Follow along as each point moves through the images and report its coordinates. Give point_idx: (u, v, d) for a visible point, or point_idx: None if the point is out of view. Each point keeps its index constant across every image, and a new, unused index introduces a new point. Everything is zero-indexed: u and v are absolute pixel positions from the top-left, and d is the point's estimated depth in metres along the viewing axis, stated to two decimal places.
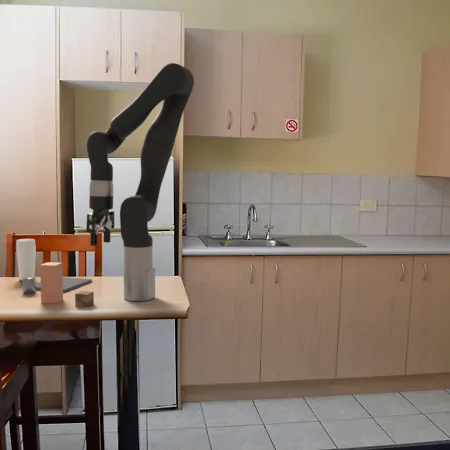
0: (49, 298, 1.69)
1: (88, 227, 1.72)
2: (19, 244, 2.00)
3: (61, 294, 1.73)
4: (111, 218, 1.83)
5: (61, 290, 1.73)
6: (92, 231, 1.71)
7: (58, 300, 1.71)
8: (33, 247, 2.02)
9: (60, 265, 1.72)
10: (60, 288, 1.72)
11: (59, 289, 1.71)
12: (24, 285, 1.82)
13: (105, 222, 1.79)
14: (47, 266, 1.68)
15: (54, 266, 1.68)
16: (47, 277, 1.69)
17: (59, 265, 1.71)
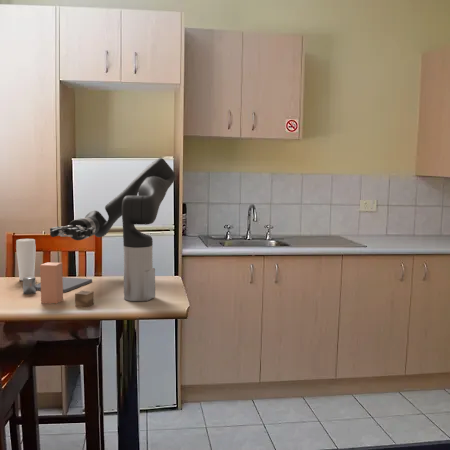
0: (49, 298, 1.69)
1: None
2: (19, 244, 2.00)
3: (61, 294, 1.73)
4: (57, 233, 1.89)
5: (61, 290, 1.73)
6: (90, 235, 1.85)
7: (58, 300, 1.71)
8: (33, 247, 2.02)
9: (60, 265, 1.72)
10: (60, 288, 1.72)
11: (59, 289, 1.71)
12: (24, 285, 1.82)
13: (69, 234, 1.88)
14: (47, 266, 1.68)
15: (54, 266, 1.68)
16: (47, 277, 1.69)
17: (59, 265, 1.71)
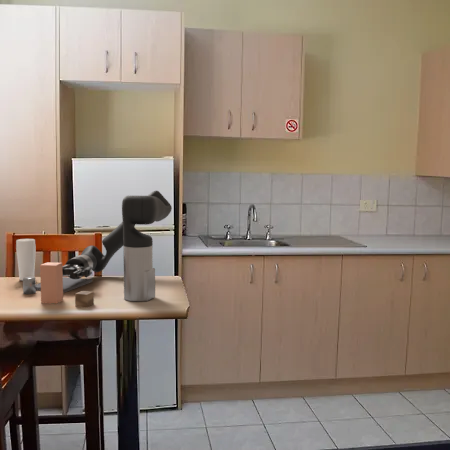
0: (49, 298, 1.69)
1: None
2: (19, 244, 2.00)
3: (61, 294, 1.73)
4: None
5: (61, 290, 1.73)
6: (87, 275, 1.83)
7: (58, 300, 1.71)
8: (33, 247, 2.02)
9: (60, 265, 1.72)
10: (60, 288, 1.72)
11: (59, 289, 1.71)
12: (24, 285, 1.82)
13: (66, 274, 1.86)
14: (47, 266, 1.68)
15: (54, 266, 1.68)
16: (47, 277, 1.69)
17: (59, 265, 1.71)
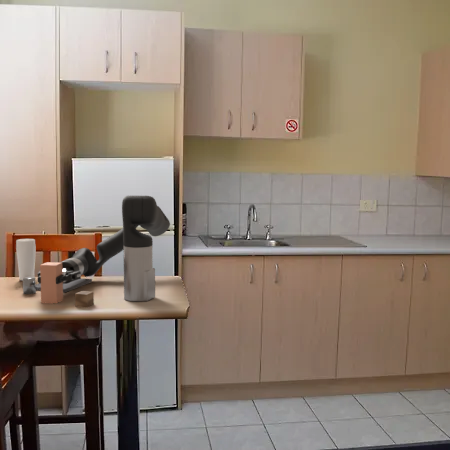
0: (49, 298, 1.69)
1: (72, 274, 1.74)
2: (19, 244, 2.00)
3: (61, 294, 1.73)
4: None
5: (61, 290, 1.73)
6: (71, 280, 1.73)
7: (58, 300, 1.71)
8: (33, 247, 2.02)
9: (60, 265, 1.72)
10: (60, 288, 1.72)
11: (59, 289, 1.71)
12: (24, 285, 1.82)
13: None
14: (47, 266, 1.68)
15: (54, 266, 1.68)
16: (47, 277, 1.69)
17: (59, 265, 1.71)
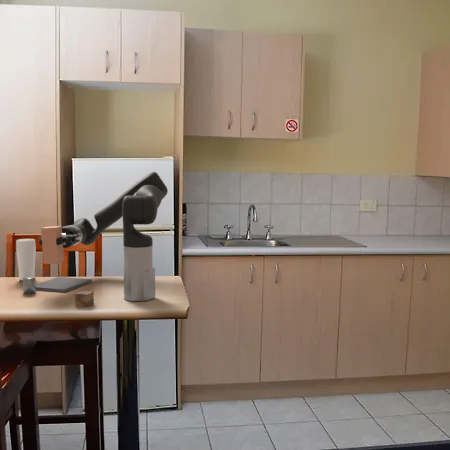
0: (50, 259, 1.81)
1: None
2: (19, 244, 2.00)
3: (62, 255, 1.84)
4: None
5: (62, 252, 1.84)
6: (70, 242, 1.84)
7: (59, 261, 1.82)
8: (33, 247, 2.02)
9: (59, 228, 1.83)
10: (61, 250, 1.84)
11: (59, 251, 1.82)
12: (24, 285, 1.82)
13: None
14: (47, 229, 1.80)
15: (54, 228, 1.80)
16: (48, 239, 1.80)
17: (58, 228, 1.82)
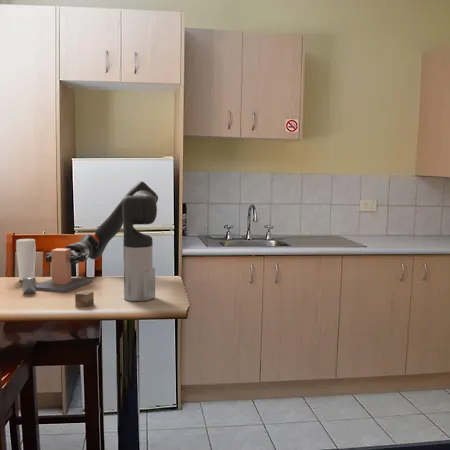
0: (59, 280, 1.92)
1: None
2: (19, 244, 2.00)
3: (69, 276, 1.96)
4: None
5: (69, 273, 1.96)
6: (83, 260, 1.96)
7: (67, 281, 1.93)
8: (33, 247, 2.02)
9: (69, 250, 1.94)
10: (69, 271, 1.95)
11: (68, 272, 1.94)
12: (24, 285, 1.82)
13: None
14: (57, 251, 1.91)
15: (64, 251, 1.91)
16: (57, 261, 1.91)
17: (68, 250, 1.94)
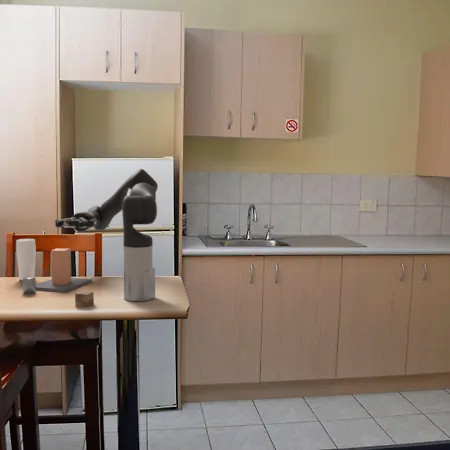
0: (59, 280, 1.92)
1: None
2: (19, 244, 2.00)
3: (69, 276, 1.96)
4: None
5: (69, 273, 1.96)
6: (91, 226, 2.05)
7: (67, 281, 1.93)
8: (33, 247, 2.02)
9: (69, 250, 1.94)
10: (69, 271, 1.95)
11: (68, 272, 1.94)
12: (24, 285, 1.82)
13: (73, 225, 2.08)
14: (57, 251, 1.91)
15: (64, 251, 1.91)
16: (57, 261, 1.91)
17: (68, 250, 1.94)
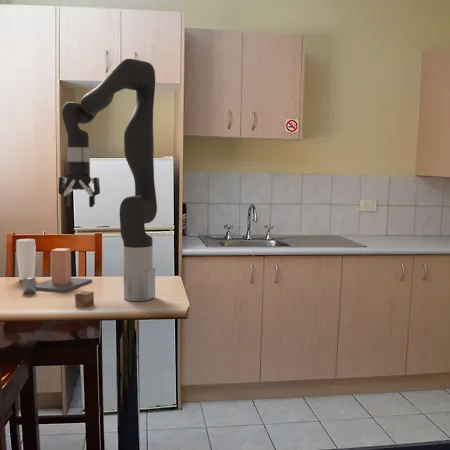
0: (59, 280, 1.92)
1: None
2: (19, 244, 2.00)
3: (69, 276, 1.96)
4: (64, 184, 1.94)
5: (69, 273, 1.96)
6: (99, 192, 1.93)
7: (67, 281, 1.93)
8: (33, 247, 2.02)
9: (69, 250, 1.94)
10: (69, 271, 1.95)
11: (68, 272, 1.94)
12: (24, 285, 1.82)
13: None
14: (57, 251, 1.91)
15: (64, 251, 1.91)
16: (57, 261, 1.91)
17: (68, 250, 1.94)
